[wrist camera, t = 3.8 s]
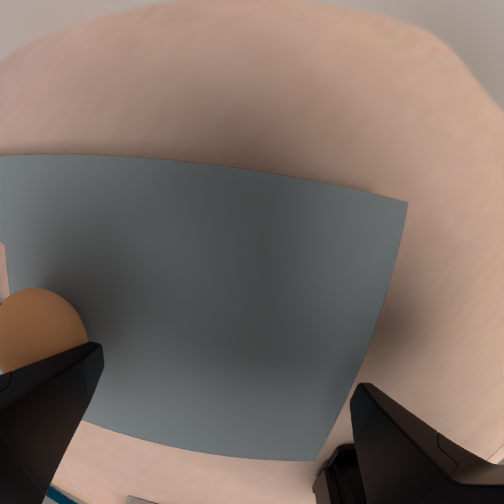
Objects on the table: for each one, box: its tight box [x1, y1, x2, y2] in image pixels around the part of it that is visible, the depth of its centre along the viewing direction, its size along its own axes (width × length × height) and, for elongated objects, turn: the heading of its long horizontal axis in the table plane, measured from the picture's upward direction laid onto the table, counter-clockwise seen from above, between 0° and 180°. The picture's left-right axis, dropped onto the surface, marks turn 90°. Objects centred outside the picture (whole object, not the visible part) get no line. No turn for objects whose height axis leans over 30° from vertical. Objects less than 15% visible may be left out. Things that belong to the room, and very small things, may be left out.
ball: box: [0, 288, 88, 373], centre depth 8 cm, size 4×4×4 cm
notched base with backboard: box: [0, 154, 408, 461], centre depth 10 cm, size 22×13×6 cm, turn 81°
